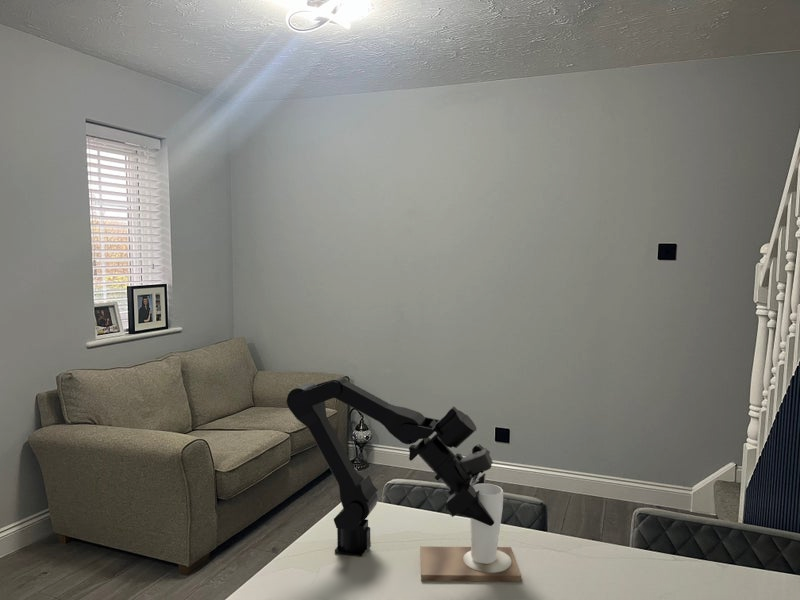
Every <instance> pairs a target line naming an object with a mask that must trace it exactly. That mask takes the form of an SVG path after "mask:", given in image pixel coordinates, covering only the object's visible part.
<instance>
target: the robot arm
mask: <svg viewBox="0 0 800 600" xmlns="http://www.w3.org/2000/svg"><path fill="white" fill-rule="evenodd" d="M331 399H337V400H339V401H340V402H342V403H344V404H346V405H347V406H350V407H351V408H353V409H354V410H356V411H358V412H360V413H362V414H364V415H365V416H367V417H370V418H371V419H373V420H375V421H376V422H378V423H380V424H381V425H382V426H384V428H385V430H387V431H388V433H389V434H390V435H391V436H393V437H394V438H396V440H398V441H399V442H401V443H402V444H405V445H410V446H409V447H408V451H409V457H408V459H409V461H411V462H412V461H413V460H414V459H415V458H417V456H419V458H420V459H421V460H422V461H423V462H424V463H425V464H426V466H428V467H429V468H430V469H431V471H432V472H433V473H434V474H435V475H434V479H435V480H436V481H439V480H441V482H443V484H444V485H445V486H446V487H447V488H448V492H447V493H448V494H449V497H448V499H446V503H445V511H446V512H447V513H448V514H449V516H450V517H452V518H454V517H455V516H456V515H458V516H460V515H462V516H465V517H467V518H472V519H475V520H477V521H480V522H482V523H485V524H487V525H489V526H492V525H493V524H494V520H493V519H492V517H491V516H490V514H489V513H488V512H487V510H486V509H485V507H484V506H483V505H482V503H481V502H480V499H479V491H477V492H476V491H475V489H474V488H473V487H472V486H473V485H475V484H481V483H485V484H486V476H487V475H486V471H488V470H490V469H492V465H493V463H494V462H493V460H492V457H491V455H490V453H491V452H490V450H488V449H487V447H484V446H482V445H481V444H480V443H478V444H476V445H473V447H472V449H471V453H469V454H468V455H466V456H462V455H461V453H458V452H456V453H454V452H453V451H452V450H451V449H452V448H455V449H457V448H459V447H460V446H461V445H462V444H463V443H464V442H465V441H467V439H468V438H470V437H471V436H472V435H473V434H474V433H476V431H477V426H476V424H475V423H474V421H473V419H471V417H470V416H469V415H468V414H466V413H464V412H463V411H461V410H459V409H458V408H457V407H455V406H452V407H451V408H450V409H449V410H448V411H447V413H446V414H445V415H444V416H443V417H442V418H441V419H436V418H433V417H432V418H431V417H428V416H425V415H424V414H422V413H421V412H419V411H416V410H414V409H411V408H407V407H404V406H398V405H397V406H396V405H393V404H391V403H389V402H388V401H385V400H384V399H381V398H380V397H378V396H376V395H374V394H372V393H371V392H368V391H367V390H365V389H363V388H361V387H359V386H358V385H356V384H354V383H352V382H351V381H349V380H347V379H346V378H345V377H343V376H338V377H335V378H333V379H331V380H327V381H324V382H321V383H318V384H314V383H311V382H306V383H304V384H301V385H299V386H297V387H295V388H293V389H291V390H290V391H289V393H288V394H287V399H286V405H287V408H288V410H289V411H290V412H291V413H292V415H293V416H294V417H295V418H296V420H297V421H298V422H300V423H301V424H302V425H304V426H305V427H306V428H307V429H308V431H309V432H310V434H311V436H312V437H313V440H314V442H315V443H316V445H317V447H318V449H319V451H320V453H321V454H322V456H323V458H324V461H325V463H327V466H328V468H329V469H330V472H331V473H332V475H333V477H334V478H335V481H336V482H337V484H338V490H339V501H340V503H341V506H342V509H341V510H340V511H339V513H338V514H337V515H336V516H335V517H334V518H333V522H334V526H335V527H336V531H337V532H336V533H337V539H336V540H337V542H336V543H337V544H336V545H337V546H336V548H335V549H334V553H335V554H342V555H347V556H357V557H363V556H364V554H365V553H366V551H368V549H369V547H370V546H371V544H372V543H371V527H370V526H369V519H367V518H368V517H369V516H370V514H371V513H372V511H373V510H374V509H375V507H377V504H378V499H379V498H378V494H377V492H378V491H379V490H378V488H377V487H376V486H375V485H374V483H373V481H372V479H371V476H370V475H366V476H365V477H363V476H362V475H361V474H359V473H358V472H357V470H356V469H355V467H354V465H353V463H352V461H351V459H350V458H349V455H348V454H347V451H346V450H345V448H344V446H343V445H342V443H341V441H340V439H339V438H338V435H337V433H336V431H335V430H334V428H333V426H332V424H331V423H330V421H329V418H328V416H327V407H326V401H328V400H331ZM433 434H434V435H433ZM419 440H420V441H419ZM418 441H419V442H418ZM415 443H417V444H415ZM450 448H451V449H450ZM479 474H482V475H479Z"/></svg>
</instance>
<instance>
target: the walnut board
mask: <svg viewBox="0 0 800 600" xmlns="http://www.w3.org/2000/svg"><path fill="white" fill-rule="evenodd" d="M419 552H420V553H419V555H420V556H419V558H420V581H421V582H519V583H520V582H522V575H521V572H520V568H519V565H518V562H517V559H516V557H515V554H514V551H513V549H512V547H511V546H497V558H496V560H495V561H494V562H493V563H490V564H482V563H478V562H476V561H474V560H473V559H472V557H471V546H420V547H419Z"/></svg>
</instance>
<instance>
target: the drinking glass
mask: <svg viewBox="0 0 800 600" xmlns="http://www.w3.org/2000/svg"><path fill="white" fill-rule="evenodd" d="M472 487H473V488H474V489H475V491H476V492H477V491H479V499H480V502H481V503H482V505H483V506H484V507H485V509H486V510H487V512H488V513H489V514H490V516H491V517H492V519H493V520H494V524H493V525H492V526H489V525H487V524H485V523H482V522H480V521H477V520H475V519H472V518H470V517H469V518H470V542H471V543H470V545H471V546H470V547H471V557H472V559H473V560H474V561H476V562H478V563H482V564H490V563H493V562H494V561H495V560H496V558H497V547H499V546H498V544H499V536H500V530H501V523H502V516H503V507H504V490H503V489H502V487H500V486H498V485H496V484H491V483H486V482H485V483H481V484H475V485H473V486H472Z"/></svg>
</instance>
